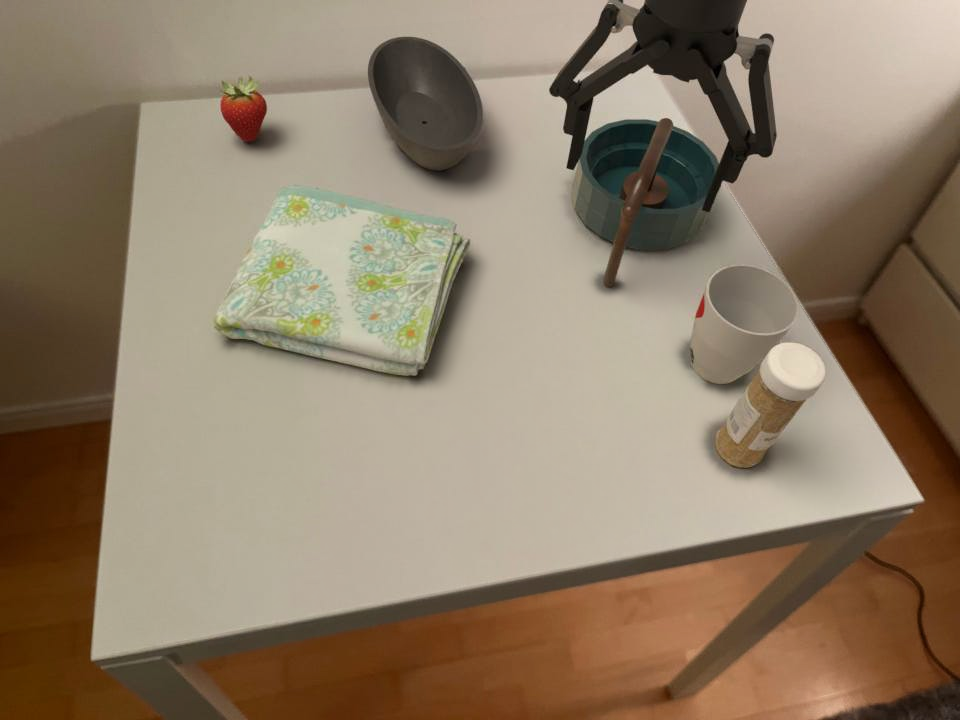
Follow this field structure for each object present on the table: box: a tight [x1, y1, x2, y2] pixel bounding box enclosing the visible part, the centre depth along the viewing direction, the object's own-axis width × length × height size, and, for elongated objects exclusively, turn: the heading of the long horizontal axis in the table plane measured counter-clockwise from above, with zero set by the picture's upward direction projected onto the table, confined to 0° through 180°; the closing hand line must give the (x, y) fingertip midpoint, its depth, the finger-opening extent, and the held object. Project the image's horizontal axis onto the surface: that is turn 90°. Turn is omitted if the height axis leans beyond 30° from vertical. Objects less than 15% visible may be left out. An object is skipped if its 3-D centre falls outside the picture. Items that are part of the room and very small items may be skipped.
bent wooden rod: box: [602, 117, 674, 287], centre depth 77 cm, size 16×5×12 cm, turn 158°
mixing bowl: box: [570, 118, 722, 251], centre depth 83 cm, size 16×16×6 cm
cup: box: [689, 263, 800, 385], centre depth 69 cm, size 8×8×10 cm
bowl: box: [367, 36, 484, 172], centre depth 88 cm, size 12×22×6 cm, turn 19°
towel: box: [212, 184, 471, 377], centre depth 73 cm, size 18×21×5 cm
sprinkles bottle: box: [714, 341, 827, 469], centre depth 62 cm, size 5×5×14 cm
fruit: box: [217, 75, 268, 143], centre depth 85 cm, size 5×5×8 cm
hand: (639, 181), depth 72 cm, fingers open, 13 cm apart
